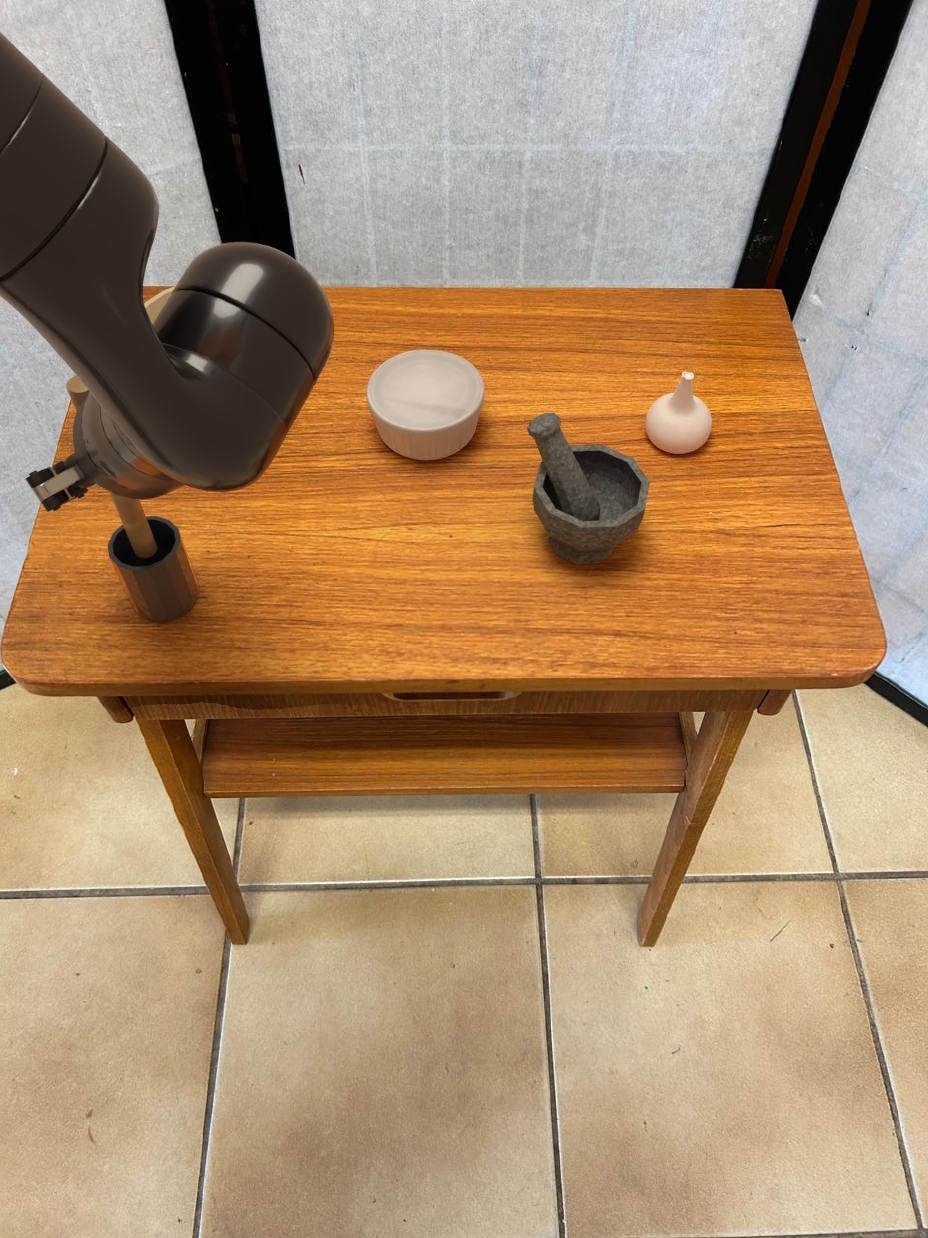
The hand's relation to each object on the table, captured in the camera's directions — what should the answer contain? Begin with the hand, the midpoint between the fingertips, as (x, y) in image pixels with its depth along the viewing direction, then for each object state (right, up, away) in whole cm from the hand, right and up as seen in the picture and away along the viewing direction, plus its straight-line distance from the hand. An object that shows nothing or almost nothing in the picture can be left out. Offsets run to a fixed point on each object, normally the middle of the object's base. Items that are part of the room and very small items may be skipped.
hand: (103, 465), depth 70 cm
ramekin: (+23, +7, +23) cm, 33 cm away
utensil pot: (+1, -9, +11) cm, 14 cm away
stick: (+1, -6, +6) cm, 8 cm away
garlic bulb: (+47, +6, +23) cm, 53 cm away
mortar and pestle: (+37, -4, +15) cm, 40 cm away
